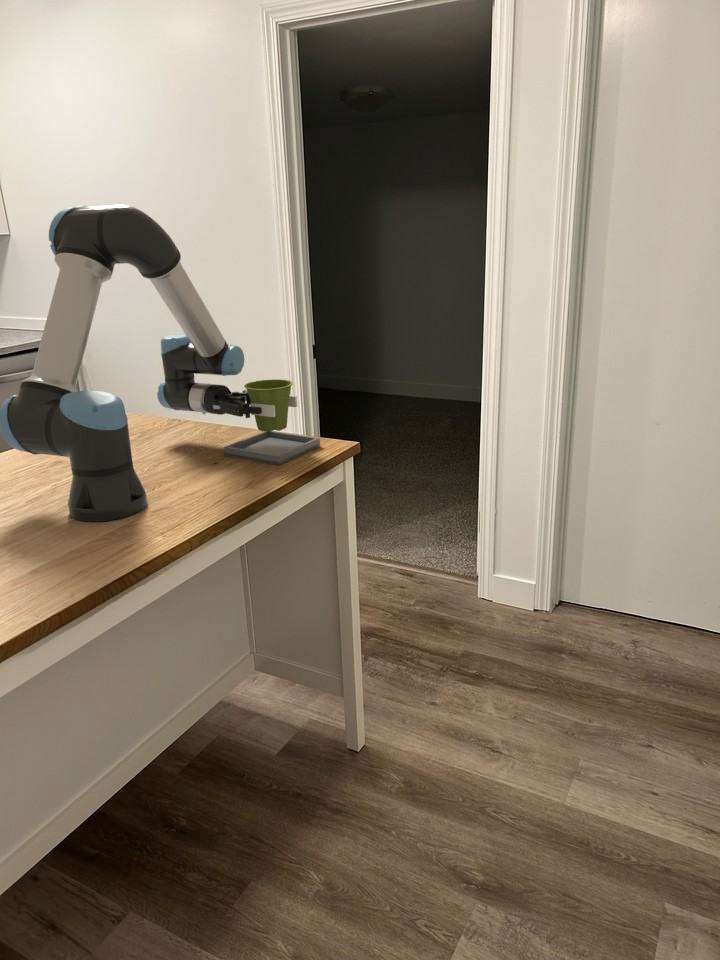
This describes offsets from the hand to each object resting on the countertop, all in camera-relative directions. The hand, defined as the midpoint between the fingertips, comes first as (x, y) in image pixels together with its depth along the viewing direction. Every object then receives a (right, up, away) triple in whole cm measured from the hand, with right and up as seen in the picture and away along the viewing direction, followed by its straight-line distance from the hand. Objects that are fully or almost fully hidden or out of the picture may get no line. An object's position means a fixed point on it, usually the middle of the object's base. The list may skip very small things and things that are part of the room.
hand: (285, 406), depth 175 cm
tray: (-4, -11, +6) cm, 13 cm away
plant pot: (-4, -5, +4) cm, 8 cm away
